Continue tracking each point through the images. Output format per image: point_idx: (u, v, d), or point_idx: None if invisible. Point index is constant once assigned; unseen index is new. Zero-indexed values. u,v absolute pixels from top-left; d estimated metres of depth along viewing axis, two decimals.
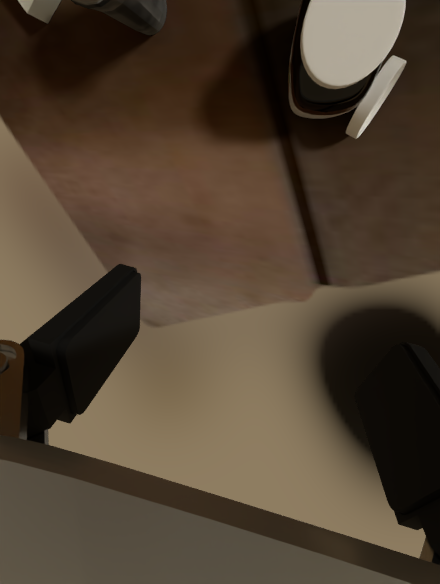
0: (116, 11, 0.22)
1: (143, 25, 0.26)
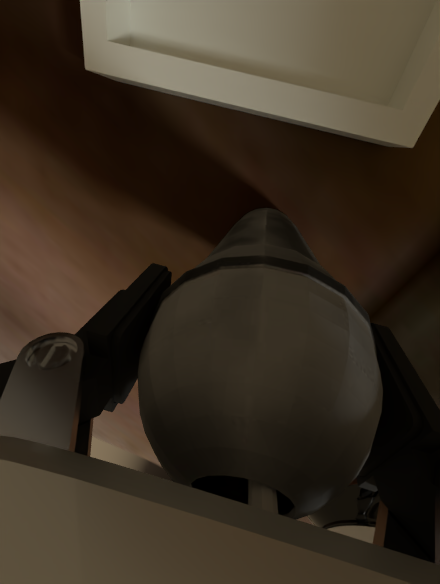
0: None
1: None
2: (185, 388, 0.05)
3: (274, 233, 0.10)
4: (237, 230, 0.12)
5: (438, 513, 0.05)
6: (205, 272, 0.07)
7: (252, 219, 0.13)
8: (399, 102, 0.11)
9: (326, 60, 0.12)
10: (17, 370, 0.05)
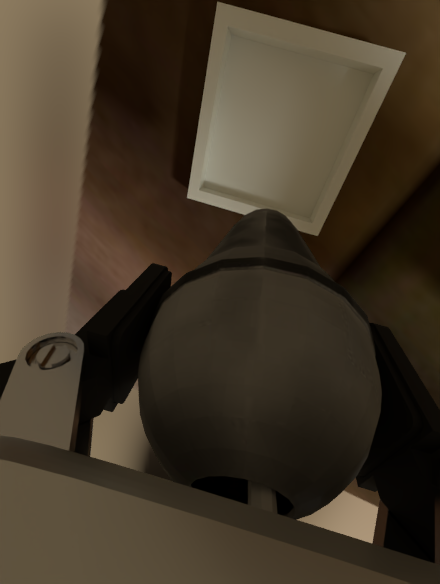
0: None
1: None
2: (186, 390, 0.05)
3: (274, 234, 0.10)
4: (237, 231, 0.12)
5: (438, 513, 0.05)
6: (205, 274, 0.07)
7: (252, 220, 0.13)
8: (312, 218, 0.28)
9: (285, 197, 0.29)
10: (17, 370, 0.05)
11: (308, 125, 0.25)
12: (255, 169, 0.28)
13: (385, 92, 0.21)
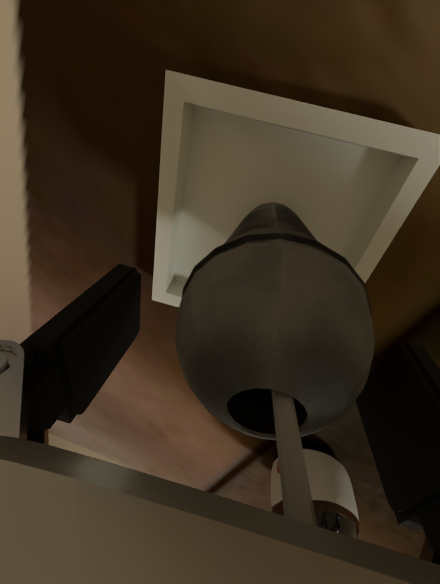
0: None
1: None
2: (224, 329, 0.06)
3: (284, 221, 0.12)
4: (250, 220, 0.13)
5: None
6: (233, 246, 0.08)
7: (262, 211, 0.15)
8: None
9: None
10: None
11: (307, 217, 0.18)
12: None
13: (421, 189, 0.14)
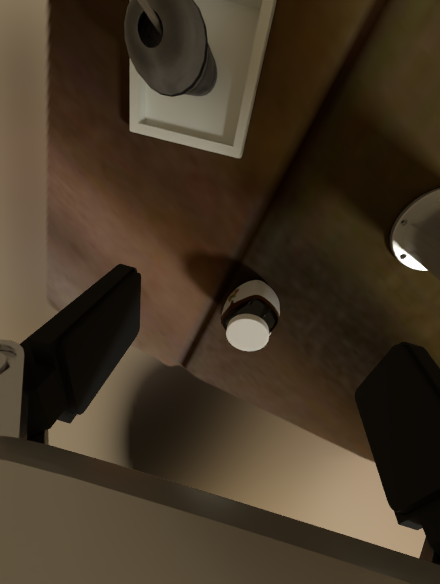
0: None
1: None
2: None
3: None
4: None
5: None
6: None
7: None
8: None
9: (212, 128, 0.34)
10: None
11: (220, 59, 0.31)
12: (184, 103, 0.34)
13: (268, 20, 0.27)
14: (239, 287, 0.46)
